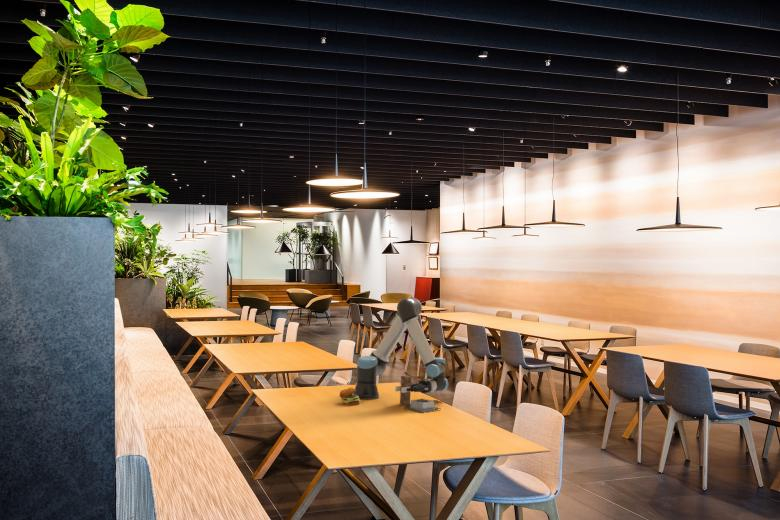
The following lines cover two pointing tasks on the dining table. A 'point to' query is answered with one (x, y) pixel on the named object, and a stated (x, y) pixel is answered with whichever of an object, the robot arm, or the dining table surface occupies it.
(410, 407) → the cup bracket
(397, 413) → the dining table surface
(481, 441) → the dining table surface
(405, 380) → the walnut post
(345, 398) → the cheeseburger
